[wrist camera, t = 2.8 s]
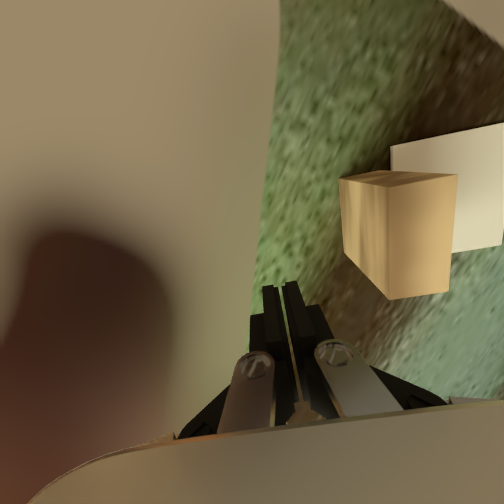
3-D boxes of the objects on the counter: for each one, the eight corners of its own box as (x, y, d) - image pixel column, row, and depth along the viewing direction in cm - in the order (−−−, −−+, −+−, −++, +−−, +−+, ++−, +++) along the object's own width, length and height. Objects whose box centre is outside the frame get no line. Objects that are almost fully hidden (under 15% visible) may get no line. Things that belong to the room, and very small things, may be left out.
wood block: (379, 170, 24) (457, 174, 14) (381, 245, 26) (448, 291, 17) (338, 178, 24) (388, 187, 15) (344, 252, 27) (389, 300, 17)
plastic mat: (516, 120, 22) (520, 119, 21) (497, 243, 26) (501, 244, 25) (390, 146, 23) (392, 145, 23) (391, 261, 27) (393, 262, 26)
